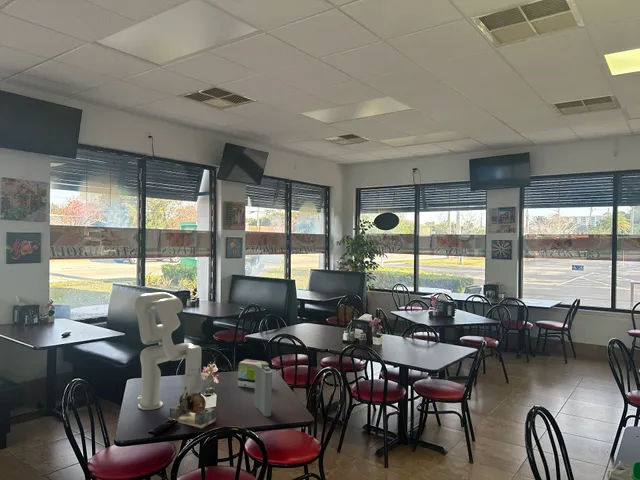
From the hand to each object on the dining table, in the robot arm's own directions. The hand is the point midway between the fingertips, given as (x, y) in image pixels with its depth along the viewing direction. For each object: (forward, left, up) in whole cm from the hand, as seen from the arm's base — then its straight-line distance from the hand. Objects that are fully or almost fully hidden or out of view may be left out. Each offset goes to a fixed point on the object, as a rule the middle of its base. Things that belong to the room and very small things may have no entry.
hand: (192, 407), depth 234 cm
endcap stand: (0, 0, -6) cm, 6 cm away
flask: (+23, +29, -6) cm, 38 cm away
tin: (0, 0, -2) cm, 2 cm away
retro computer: (-6, +61, -6) cm, 62 cm away
